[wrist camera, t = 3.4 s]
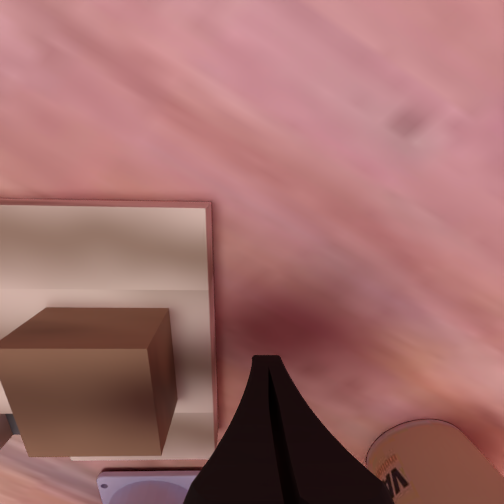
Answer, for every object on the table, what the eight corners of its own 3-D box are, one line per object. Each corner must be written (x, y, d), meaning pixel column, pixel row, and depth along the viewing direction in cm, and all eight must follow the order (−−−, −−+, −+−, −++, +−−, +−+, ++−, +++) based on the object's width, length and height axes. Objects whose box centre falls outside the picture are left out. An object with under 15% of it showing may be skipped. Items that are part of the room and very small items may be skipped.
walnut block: (177, 399, 15) (161, 455, 12) (71, 400, 15) (28, 457, 12) (168, 307, 13) (146, 348, 10) (46, 307, 13) (-12, 348, 10)
